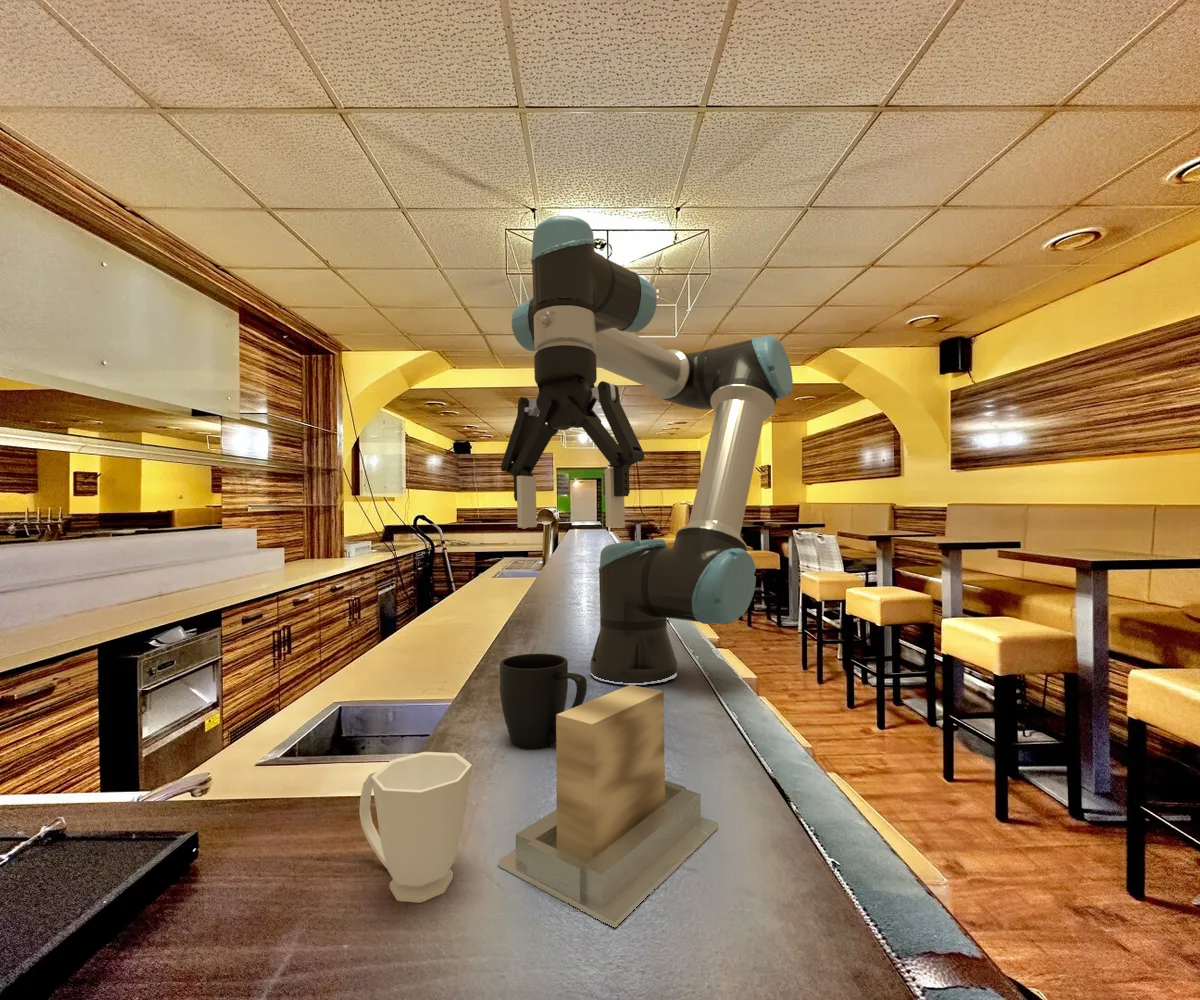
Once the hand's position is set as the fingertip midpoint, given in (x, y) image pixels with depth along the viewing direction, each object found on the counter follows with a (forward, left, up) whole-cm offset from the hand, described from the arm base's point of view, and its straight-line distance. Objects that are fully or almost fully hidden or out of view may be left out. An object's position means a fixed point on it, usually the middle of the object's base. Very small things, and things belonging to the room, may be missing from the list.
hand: (568, 527), depth 67 cm
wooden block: (+13, +16, -25) cm, 33 cm away
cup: (+26, +6, -26) cm, 37 cm away
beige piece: (+13, +16, -26) cm, 33 cm away
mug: (+1, -3, -26) cm, 26 cm away
